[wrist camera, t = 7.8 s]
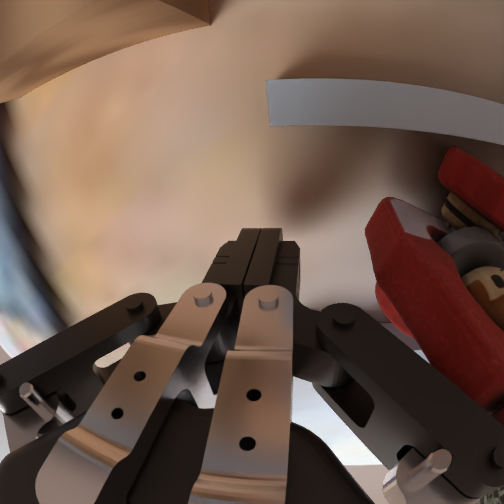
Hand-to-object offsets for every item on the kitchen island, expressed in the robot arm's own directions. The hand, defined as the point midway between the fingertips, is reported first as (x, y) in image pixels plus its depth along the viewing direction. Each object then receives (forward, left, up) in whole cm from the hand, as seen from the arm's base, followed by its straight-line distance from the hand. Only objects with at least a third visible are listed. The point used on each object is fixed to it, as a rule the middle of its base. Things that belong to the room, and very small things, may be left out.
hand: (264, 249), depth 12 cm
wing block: (-7, +11, -2) cm, 14 cm away
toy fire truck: (+10, 0, -2) cm, 10 cm away
